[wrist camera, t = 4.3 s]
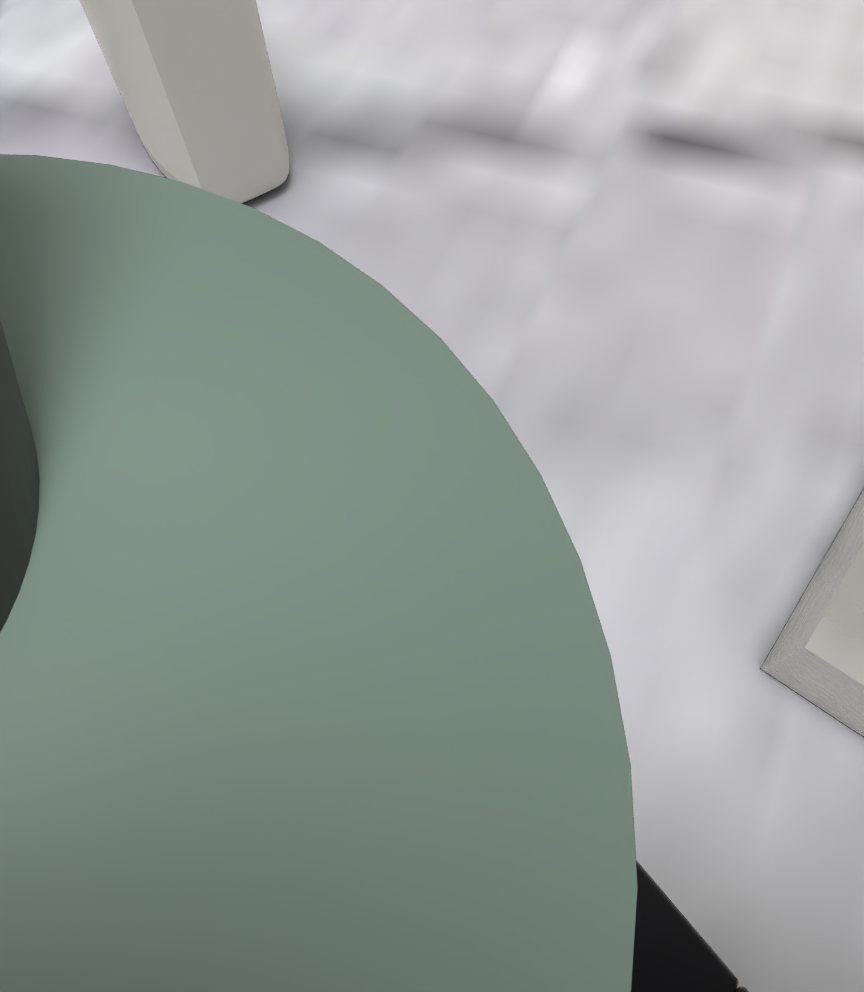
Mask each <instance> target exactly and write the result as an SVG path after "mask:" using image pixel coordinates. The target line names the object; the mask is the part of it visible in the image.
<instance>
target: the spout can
mask: <svg viewBox="0 0 864 992" xmlns="http://www.w3.org/2000/svg"><path fill="white" fill-rule="evenodd" d="M636 903H637V870H636V852H635V835H634V817H633V799H632V782H631V765H630V759H629V754H628V748H627V743H626V737H625V732H624V726H623V721H622V715H621V710H620V704H619V699H618V693H617V688H616V682H615V677H614V671H613V666H612V660H611V655H610V652H609V649H608V646H607V642H606V639H605V636H604V633H603V630H602V627H601V623H600V620H599V617H598V614H597V611H596V608H595V604H594V601H593V598H592V595H591V592H590V589H589V585H588V582H587V579H586V576H585V573H584V570H583V566H582V563H581V560H580V558H579V556H578V553H577V551H576V549H575V547H574V545H573V543H572V540H571V538H570V536H569V534H568V532H567V530H566V528H565V525H564V523H563V521H562V519H561V517H560V515H559V513H558V510H557V508H556V506H555V504H554V502H553V500H552V498H551V495H550V493H549V491H548V489H547V487H546V485H545V483H544V480H543V478H542V476H541V474H540V472H539V471H538V469H537V468H536V466H535V465H534V463H533V462H532V460H531V458H530V457H529V455H528V454H527V452H526V451H525V449H524V447H523V446H522V444H521V443H520V441H519V440H518V438H517V437H516V435H515V433H514V432H513V430H512V429H511V427H510V426H509V424H508V422H507V421H506V419H505V418H504V416H503V415H502V413H501V411H500V410H499V408H498V407H497V405H496V404H495V402H494V401H493V399H492V398H491V397H490V396H489V395H488V394H487V392H486V391H485V390H484V389H483V388H482V386H481V385H480V384H479V383H478V382H477V381H476V379H475V378H474V377H473V376H472V375H471V373H470V372H469V371H468V370H467V369H466V368H465V366H464V365H463V364H462V363H461V362H460V360H459V359H458V358H457V357H456V356H455V355H454V353H453V352H452V351H451V350H450V349H449V347H448V346H447V345H446V344H445V343H444V342H443V340H442V339H441V338H440V337H439V336H438V335H437V334H435V333H434V332H433V331H432V330H431V329H430V328H429V327H428V326H427V325H426V324H424V323H423V322H422V321H421V320H420V319H419V318H418V317H417V316H416V315H414V314H413V313H412V312H411V311H410V310H409V309H408V308H407V307H406V306H404V305H403V304H402V303H401V302H400V301H399V300H398V299H397V298H396V297H395V296H393V295H392V294H391V293H390V292H389V291H388V290H387V289H386V288H385V287H383V286H382V285H381V284H379V283H378V282H377V281H375V280H374V279H372V278H371V277H369V276H368V275H366V274H365V273H364V272H362V271H361V270H359V269H358V268H356V267H355V266H353V265H352V264H350V263H349V262H348V261H346V260H345V259H343V258H342V257H340V256H339V255H337V254H336V253H334V252H333V251H332V250H330V249H329V248H327V247H326V246H324V245H323V244H321V243H320V242H318V241H316V240H314V239H312V238H310V237H309V236H307V235H305V234H303V233H301V232H299V231H297V230H295V229H293V228H291V227H289V226H287V225H285V224H283V223H281V222H279V221H277V220H276V219H274V218H272V217H270V216H268V215H266V214H264V213H262V212H260V211H258V210H256V209H254V208H252V207H249V206H247V205H244V204H241V203H238V202H236V201H233V200H230V199H228V198H225V197H222V196H219V195H217V194H214V193H211V192H209V191H206V190H203V189H200V188H198V187H195V186H192V185H190V184H187V183H184V182H180V181H176V180H172V179H168V178H164V177H160V176H156V175H151V174H147V173H143V172H139V171H135V170H131V169H126V168H122V167H118V166H114V165H109V164H101V163H93V162H85V161H78V160H70V159H62V158H54V157H46V156H38V155H4V154H0V992H631V983H632V967H633V951H634V935H635V919H636Z"/></svg>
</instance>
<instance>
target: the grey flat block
mask: <svg viewBox="0 0 864 992" xmlns="http://www.w3.org/2000/svg"><path fill="white" fill-rule="evenodd" d="M761 669H762V670H763V671H765V672H766V673H768V674H769V675H771V676H772V677H774V678H775V679H777V680H778V681H780V682H781V683H783V684H784V685H786V686H788V687H789V688H791V689H792V690H794V691H795V692H797V693H798V694H800V695H801V696H803V697H804V698H806V699H807V700H809V701H810V702H812V703H813V704H815V705H816V706H818V707H819V708H821V709H822V710H824V711H825V712H827V713H828V714H830V715H831V716H833V717H834V718H836V719H837V720H839V721H841V722H842V723H844V724H845V725H847V726H848V727H850V728H851V729H853V730H854V731H856V732H857V733H859V734H860V735H862V736H863V737H864V489H863V491H862V493H861V495H860V496H859V498H858V500H857V502H856V503H855V505H854V507H853V509H852V510H851V512H850V514H849V515H848V517H847V519H846V521H845V522H844V524H843V526H842V528H841V529H840V531H839V533H838V535H837V536H836V538H835V540H834V542H833V543H832V545H831V547H830V549H829V550H828V552H827V554H826V556H825V557H824V559H823V561H822V563H821V564H820V566H819V568H818V570H817V571H816V573H815V575H814V577H813V578H812V580H811V582H810V584H809V585H808V587H807V589H806V590H805V592H804V594H803V596H802V597H801V599H800V601H799V603H798V604H797V606H796V608H795V610H794V611H793V613H792V615H791V617H790V618H789V620H788V622H787V624H786V625H785V627H784V629H783V631H782V632H781V634H780V636H779V638H778V639H777V641H776V643H775V645H774V646H773V648H772V650H771V652H770V653H769V655H768V657H767V659H766V660H765V662H764V664H763V666H762V667H761Z"/></svg>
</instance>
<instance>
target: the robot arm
mask: <svg viewBox="0 0 864 992" xmlns="http://www.w3.org/2000/svg"><path fill="white" fill-rule="evenodd" d="M636 870H637V903H636V919H635V935H634V951H633V967H632V983H631V992H749V991H748V990H747V989H746V988H744V987H739V988H738V984H739V983H738V980H737V978H736V977H735V976H734V974H733V973H732V972H731V971H730V970H729V969H728V967H727V966H726V965H725V964H724V963H723V961H722V960H721V959H720V958H719V957H718V956H717V954H716V953H715V952H714V951H713V950H712V949H711V947H710V946H709V945H708V944H707V943H706V942H705V940H704V939H703V938H702V937H701V936H700V934H699V933H698V932H697V931H696V930H695V929H694V927H693V926H692V925H691V924H690V923H689V922H688V920H687V919H686V918H685V917H684V916H683V915H682V913H681V912H680V911H679V910H678V909H677V907H676V906H675V905H674V904H673V903H672V902H671V900H670V899H669V898H668V897H667V896H666V895H665V893H664V892H663V891H662V890H661V889H660V888H659V886H658V885H657V884H656V883H655V882H654V880H653V879H652V878H651V877H650V876H649V875H648V873H647V872H646V871H645V870H644V869H643V868H642V866H641V865H640V864H639V863H638V862H637V861H636Z"/></svg>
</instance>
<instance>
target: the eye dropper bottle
mask: <svg viewBox="0 0 864 992" xmlns="http://www.w3.org/2000/svg"><path fill="white" fill-rule="evenodd" d="M80 2H81V4H82V7H83V9H84V11H85V14H86V16H87V18H88V20H89V23H90V25H91V27H92V30H93V32H94V34H95V36H96V39H97V41H98V43H99V46H100V48H101V50H102V53H103V55H104V57H105V59H106V62H107V64H108V66H109V69H110V71H111V73H112V75H113V78H114V80H115V82H116V85H117V87H118V89H119V91H120V94H121V96H122V98H123V101H124V103H125V105H126V108H127V110H128V112H129V114H130V117H131V119H132V121H133V124H134V126H135V128H136V130H137V133H138V135H139V137H140V139H141V141H142V143H143V145H144V147H145V149H146V150H147V152H148V154H149V155H150V157H151V159H152V160H153V162H154V163H155V164H156V166H157V167H158V168H159V169H160V171H161V172H162V173H163V174H164V175H165V176H166V177H167V178H168V179H172V180H176V181H180V182H184V183H187V184H190V185H192V186H195V187H198V188H200V189H203V190H206V191H209V192H211V193H214V194H217V195H219V196H222V197H225V198H228V199H230V200H233V201H236V202H238V203H243V202H246V201H248V200H250V199H253V198H255V197H257V196H259V195H262V194H264V193H266V192H268V191H270V190H272V189H274V188H277V187H278V186H279V185H281V184H282V183H283V182H285V181H286V178H287V176H288V173H289V151H288V144H287V139H286V134H285V129H284V125H283V120H282V116H281V111H280V107H279V102H278V98H277V93H276V89H275V84H274V80H273V75H272V71H271V66H270V62H269V57H268V53H267V49H266V44H265V40H264V35H263V31H262V26H261V22H260V17H259V13H258V8H257V4H256V0H80Z"/></svg>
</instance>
